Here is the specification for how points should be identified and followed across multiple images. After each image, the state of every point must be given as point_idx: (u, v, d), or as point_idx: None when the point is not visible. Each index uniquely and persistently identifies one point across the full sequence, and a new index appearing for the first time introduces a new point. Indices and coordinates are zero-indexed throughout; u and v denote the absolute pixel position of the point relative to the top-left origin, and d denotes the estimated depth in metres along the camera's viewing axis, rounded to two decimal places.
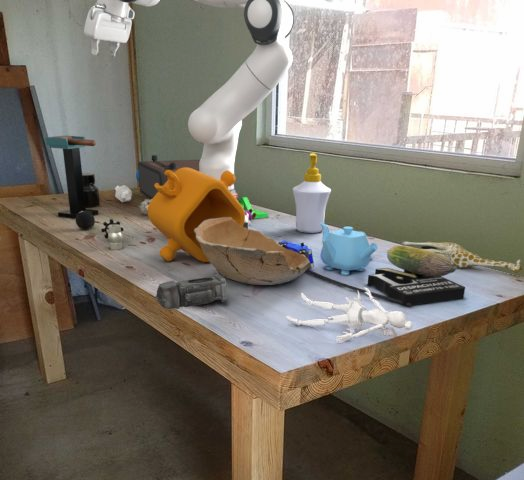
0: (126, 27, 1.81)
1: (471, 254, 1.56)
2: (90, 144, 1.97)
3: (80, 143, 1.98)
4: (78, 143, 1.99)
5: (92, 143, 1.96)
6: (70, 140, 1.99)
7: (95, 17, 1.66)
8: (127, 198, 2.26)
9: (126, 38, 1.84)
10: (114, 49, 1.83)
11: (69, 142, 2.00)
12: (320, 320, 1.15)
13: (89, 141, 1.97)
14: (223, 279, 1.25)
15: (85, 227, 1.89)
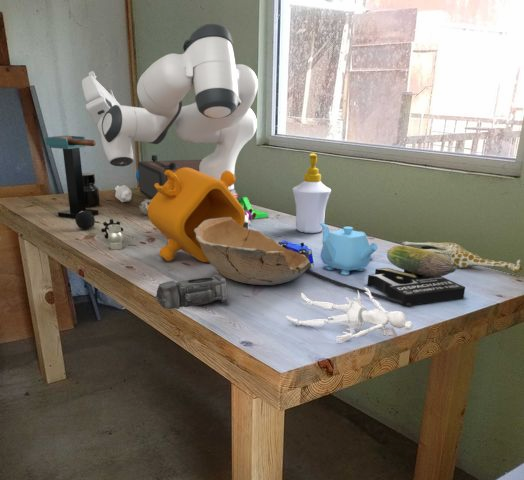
0: (99, 91, 1.74)
1: (471, 254, 1.56)
2: (90, 144, 1.97)
3: (80, 143, 1.98)
4: (78, 143, 1.99)
5: (92, 143, 1.96)
6: (70, 140, 1.99)
7: None
8: (127, 198, 2.26)
9: (94, 80, 1.73)
10: None
11: (69, 142, 2.00)
12: (320, 320, 1.15)
13: (89, 141, 1.97)
14: (223, 279, 1.25)
15: (85, 227, 1.89)
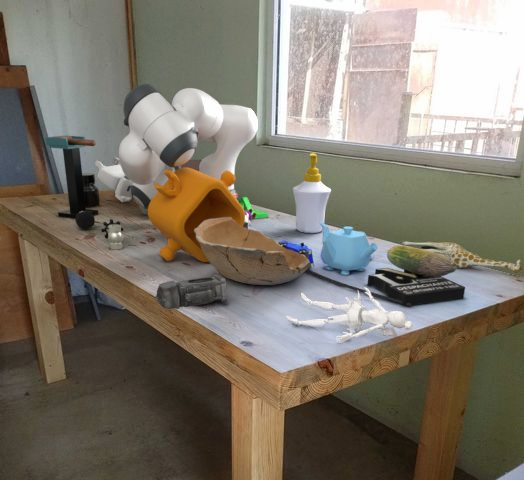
0: (114, 174, 1.90)
1: (471, 254, 1.56)
2: (90, 144, 1.97)
3: (80, 143, 1.98)
4: (78, 143, 1.99)
5: (92, 143, 1.96)
6: (70, 140, 1.99)
7: None
8: (127, 198, 2.26)
9: (105, 169, 1.89)
10: None
11: (69, 142, 2.00)
12: (320, 320, 1.15)
13: (89, 141, 1.97)
14: (223, 279, 1.25)
15: (85, 227, 1.89)
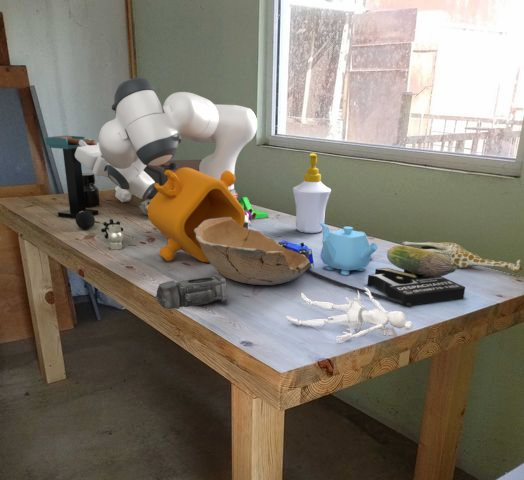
0: (91, 154, 1.90)
1: (471, 254, 1.56)
2: (90, 144, 1.97)
3: None
4: (78, 143, 1.99)
5: (92, 143, 1.96)
6: (70, 140, 1.99)
7: None
8: (127, 198, 2.26)
9: (82, 148, 1.90)
10: None
11: (69, 142, 2.00)
12: (320, 320, 1.15)
13: (89, 141, 1.97)
14: (223, 279, 1.25)
15: (85, 227, 1.89)
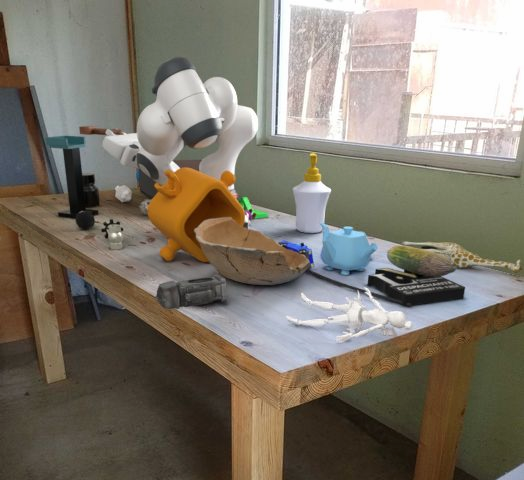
0: (119, 143, 1.85)
1: (471, 254, 1.56)
2: (117, 134, 1.92)
3: None
4: (105, 133, 1.93)
5: (119, 133, 1.91)
6: (96, 130, 1.94)
7: None
8: (127, 198, 2.26)
9: (110, 138, 1.84)
10: None
11: (95, 132, 1.95)
12: (320, 320, 1.15)
13: (116, 131, 1.91)
14: (223, 279, 1.25)
15: (85, 227, 1.89)
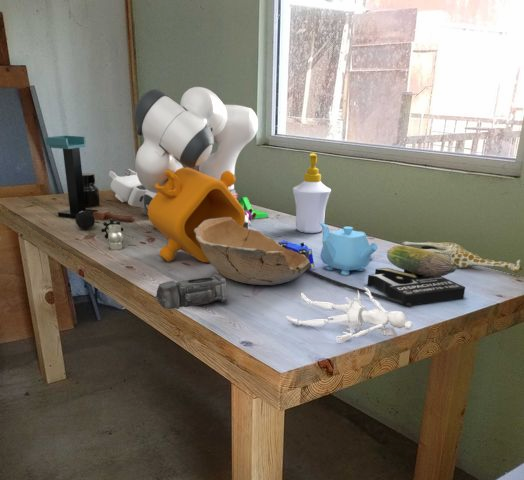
0: (127, 184, 1.89)
1: (471, 254, 1.56)
2: (130, 220, 2.02)
3: (120, 219, 2.04)
4: (118, 219, 2.04)
5: (132, 219, 2.02)
6: (109, 215, 2.05)
7: None
8: None
9: (118, 179, 1.88)
10: None
11: (108, 217, 2.05)
12: (320, 320, 1.15)
13: (129, 217, 2.02)
14: (223, 279, 1.25)
15: (85, 227, 1.89)
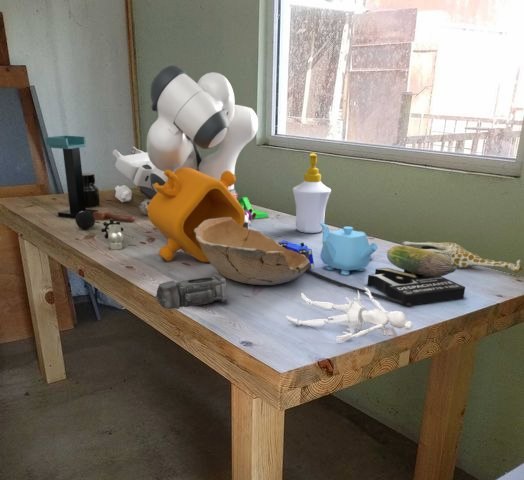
0: (132, 164, 1.86)
1: (471, 254, 1.56)
2: (130, 220, 2.02)
3: (120, 219, 2.04)
4: (118, 219, 2.04)
5: (132, 219, 2.02)
6: (109, 215, 2.05)
7: None
8: (127, 198, 2.26)
9: (123, 158, 1.85)
10: None
11: (108, 217, 2.05)
12: (320, 320, 1.15)
13: (129, 217, 2.02)
14: (223, 279, 1.25)
15: (85, 227, 1.89)
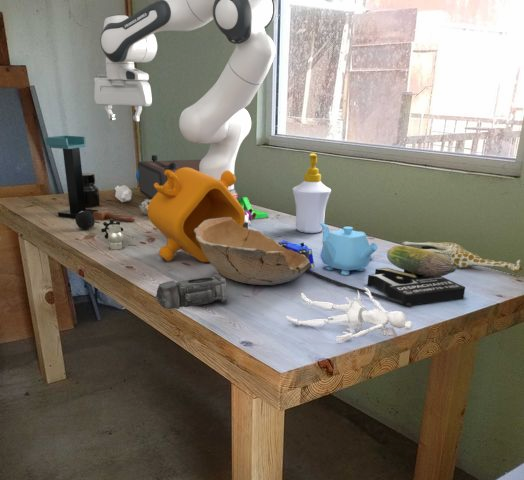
0: (138, 89, 1.81)
1: (471, 254, 1.56)
2: (130, 220, 2.02)
3: (120, 219, 2.04)
4: (118, 219, 2.04)
5: (132, 219, 2.02)
6: (109, 215, 2.05)
7: None
8: (127, 198, 2.26)
9: (141, 101, 1.82)
10: None
11: (108, 217, 2.05)
12: (320, 320, 1.15)
13: (129, 217, 2.02)
14: (223, 279, 1.25)
15: (85, 227, 1.89)
